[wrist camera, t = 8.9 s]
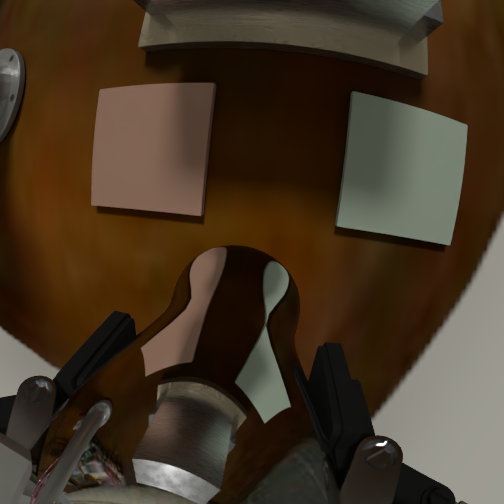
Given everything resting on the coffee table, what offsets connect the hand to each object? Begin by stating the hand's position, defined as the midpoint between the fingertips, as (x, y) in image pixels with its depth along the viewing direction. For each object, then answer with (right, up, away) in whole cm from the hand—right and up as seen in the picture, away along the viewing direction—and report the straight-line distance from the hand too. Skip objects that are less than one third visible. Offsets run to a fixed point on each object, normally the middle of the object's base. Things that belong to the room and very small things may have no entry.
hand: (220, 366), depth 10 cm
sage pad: (+13, +10, +10) cm, 19 cm away
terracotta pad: (-7, +12, +12) cm, 18 cm away
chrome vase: (0, +1, +5) cm, 5 cm away
